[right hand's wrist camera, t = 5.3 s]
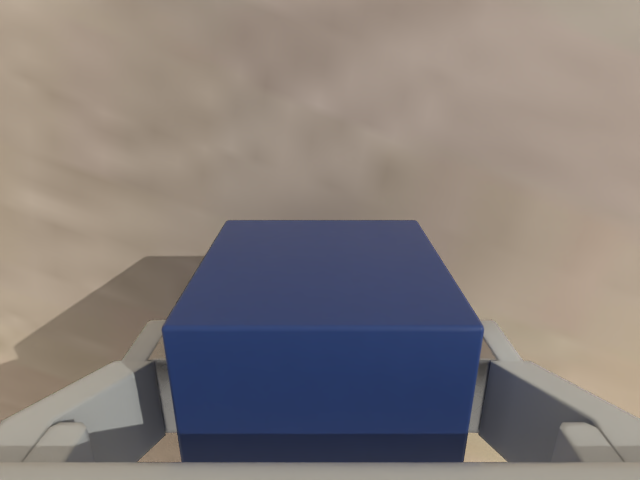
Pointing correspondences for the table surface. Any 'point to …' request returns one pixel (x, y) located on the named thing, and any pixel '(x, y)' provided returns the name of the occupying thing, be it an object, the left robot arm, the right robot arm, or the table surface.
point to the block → (322, 346)
